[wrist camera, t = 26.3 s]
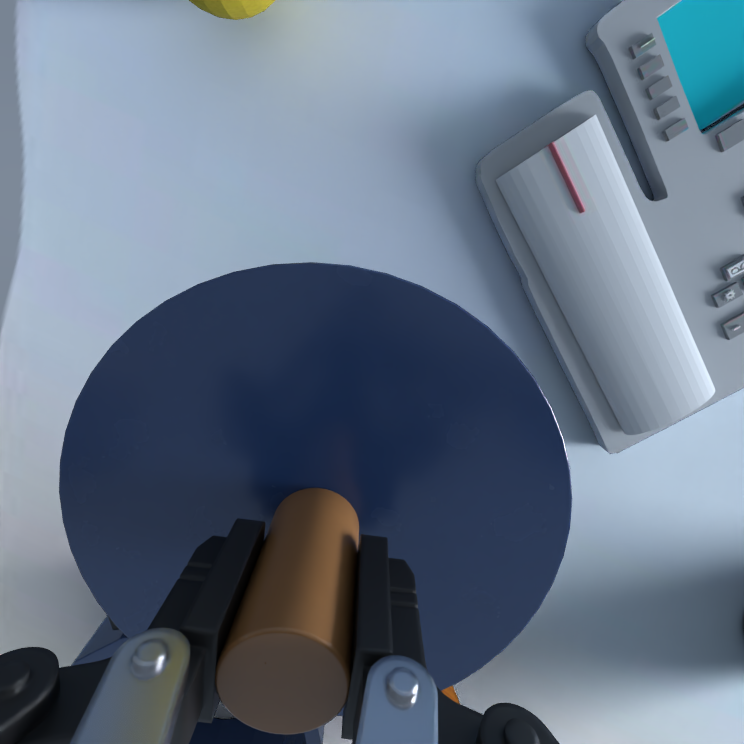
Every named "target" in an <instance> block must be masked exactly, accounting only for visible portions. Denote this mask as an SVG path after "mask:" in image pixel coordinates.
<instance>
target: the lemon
mask: <svg viewBox="0 0 744 744" xmlns="http://www.w3.org/2000/svg"><path fill="white" fill-rule="evenodd" d="M189 1H190V2H192V3H193V4H194V5H196V6H197V7H198V8H200V9H201V10H203V11H206V12H208V13H210V14H212V15H215V16H217V17H220V18H226V19H234V20H238V19H245V18H251V17H253V16H255V15H257V14H259V13H261V12H263V11H265V10H266V9H267V8H268V7H269V6H270V5H271V4H272V3H273V2H274V1H275V0H189Z"/></svg>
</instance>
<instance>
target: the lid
mask: <svg viewBox="0 0 744 744" xmlns="http://www.w3.org/2000/svg"><path fill="white" fill-rule="evenodd" d="M59 494H60V502H61V510H62V518H63V523H64V527H65V531H66V534H67V538H68V542H69V545H70V549H71V552H72V554H73V556H74V559H75V561H76V563H77V566H78V568H79V570H80V573H81V575H82V577H83V579H84V580H85V582H86V584H87V585H88V587H89V589H90V591H91V592H92V594H93V596H94V597H95V599H96V601H97V602H98V603H99V605H100V606H101V607H102V609H103V610H104V611H105V612H106V614H107V615H108V616H109V618H110V619H111V620H112V621H113V623H114V624H115V625H116V626H117V627H118V628H119V629H120V630H121V631H122V632H123V633H124V634H125V635H126V636H127V637H128V638H129V639H130V638H131V637H133V636H135V635H136V634H138V633H141V632H143V631H146V630H147V629H148V627H149V626H150V624H151V622H152V621H153V619H154V618H155V616H156V614H157V613H158V611H159V609H160V608H161V606H162V604H163V603H164V601H165V599H166V598H167V596H168V594H169V593H170V591H171V590H172V588H173V586H174V585H175V583H176V581H177V580H178V579H179V578H180V575H181V573H182V571H183V570H184V568H185V566H187V564H188V562H189V560H190V558H191V557H192V555H193V553H194V552H195V550H196V548H197V547H198V546H200V545H201V544H202V543H204V542H205V541H206V540H208V539H209V538H210V537H212V536H221V537H227V536H228V534H229V532H230V530H231V528H232V527H233V525H234V523H235V521H236V519H238V518H240V519H248V520H255V521H263V522H265V537H264V542H263V545H262V548H261V550H260V553H259V555H258V558H257V561H256V563H255V566H254V568H253V571H252V574H251V576H250V579H249V581H248V584H247V586H246V589H245V592H244V594H243V597H242V599H241V602H240V605H239V607H238V610H237V612H236V615H235V618H234V620H233V623H232V625H231V628H230V630H229V633H228V636H227V638H226V641H225V643H224V646H223V649H222V651H221V654H220V656H219V659H218V662H217V667H216V674H215V685H216V690H217V693H218V696H219V698H220V700H221V702H222V703H223V705H224V706H225V707H226V709H227V710H228V711H229V712H230V713H231V714H232V715H233V716H234V717H236V718H237V719H238V720H240V721H241V722H243V723H244V724H246V725H248V726H250V727H252V728H255V729H258V730H261V731H264V732H268V733H274V734H298V733H304V732H308V731H311V730H314V729H317V728H319V727H321V726H323V725H325V724H326V723H328V722H329V721H331V720H332V719H333V718H334V717H336V716H343V707H344V705H345V703H346V701H347V699H348V694H349V688H350V681H351V666H352V647H353V629H354V610H355V592H356V573H357V555H358V547H359V541H360V536H361V534H364V535H372V536H379V537H387V539H388V558H395V559H402V560H405V561H406V563H407V564H408V566H409V567H410V569H411V570H412V572H413V574H414V577H415V585H416V594H417V600H418V609H419V616H420V624H421V632H422V639H423V647H424V655H425V662H426V667H427V670H428V672H429V673H430V675H431V676H432V678H433V680H434V682H435V684H436V686H437V687H438V688H439V689H440V690H441V691H442V690H444V689H446V688H448V687H450V686H452V685H455V684H457V683H458V682H460V681H462V680H463V679H465V678H466V677H468V676H470V675H471V674H473V673H474V672H476V671H477V670H479V669H481V668H482V667H483V666H484V665H486V664H487V663H488V662H489V661H491V660H492V659H493V658H494V657H496V656H497V655H498V654H499V653H501V652H502V651H503V650H504V649H505V648H506V647H507V646H508V645H509V644H510V643H511V642H512V641H513V640H514V639H515V638H516V637H517V636H518V635H519V633H520V632H521V631H522V630H523V629H524V628H525V626H526V625H527V624H528V622H529V621H530V620H531V618H532V617H533V616H534V614H535V613H536V612H537V610H538V609H539V608H540V606H541V604H542V602H543V600H544V599H545V597H546V595H547V593H548V591H549V590H550V588H551V586H552V584H553V582H554V580H555V577H556V574H557V572H558V569H559V567H560V564H561V561H562V559H563V556H564V552H565V547H566V543H567V539H568V534H569V530H570V520H571V507H572V489H571V475H570V466H569V461H568V457H567V452H566V448H565V444H564V439H563V436H562V433H561V431H560V428H559V426H558V423H557V420H556V418H555V415H554V413H553V410H552V408H551V406H550V404H549V402H548V401H547V399H546V397H545V395H544V394H543V392H542V390H541V388H540V387H539V385H538V383H537V381H536V380H535V378H534V377H533V375H532V374H531V373H530V372H529V370H528V369H527V368H526V366H525V365H524V364H523V363H522V361H521V360H520V359H519V358H518V356H517V355H516V354H515V352H514V351H513V350H512V349H511V348H510V347H509V346H508V345H506V344H505V343H504V342H503V341H502V340H501V339H500V338H499V337H498V336H497V335H496V334H495V333H494V332H493V331H492V330H491V329H490V328H489V327H488V326H486V325H485V324H483V323H482V322H481V321H479V320H478V319H477V318H475V317H474V316H472V315H471V314H470V313H468V312H467V311H465V310H464V309H463V308H461V307H460V306H458V305H457V304H455V303H453V302H451V301H449V300H447V299H446V298H444V297H442V296H440V295H438V294H436V293H434V292H432V291H430V290H429V289H427V288H425V287H423V286H420V285H418V284H415V283H412V282H409V281H407V280H404V279H401V278H398V277H396V276H393V275H390V274H387V273H383V272H378V271H374V270H369V269H364V268H360V267H355V266H351V265H339V264H327V263H314V262H309V263H291V264H273V265H267V266H262V267H257V268H251V269H246V270H241V271H236V272H232V273H229V274H226V275H223V276H220V277H217V278H215V279H212V280H209V281H206V282H203V283H200V284H197V285H195V286H193V287H192V288H190V289H188V290H186V291H184V292H182V293H180V294H178V295H176V296H174V297H172V298H170V299H168V300H166V301H165V302H163V303H162V304H160V305H159V306H158V307H156V308H155V309H153V310H152V311H151V312H149V313H148V314H146V315H145V316H144V317H142V318H141V319H139V320H138V321H137V322H135V323H134V324H133V325H132V326H131V327H130V328H129V329H128V330H127V331H126V332H125V333H124V334H123V335H122V336H121V337H120V338H119V339H118V340H117V341H116V342H115V343H114V344H113V345H112V346H111V347H110V348H109V350H108V351H107V352H106V354H105V355H104V356H103V358H102V359H101V360H100V362H99V363H98V364H97V366H96V367H95V368H94V370H93V371H92V372H91V374H90V376H89V378H88V380H87V382H86V383H85V385H84V387H83V389H82V391H81V393H80V395H79V397H78V398H77V400H76V402H75V405H74V408H73V411H72V414H71V417H70V420H69V423H68V426H67V428H66V431H65V437H64V442H63V448H62V453H61V459H60V482H59Z"/></svg>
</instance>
